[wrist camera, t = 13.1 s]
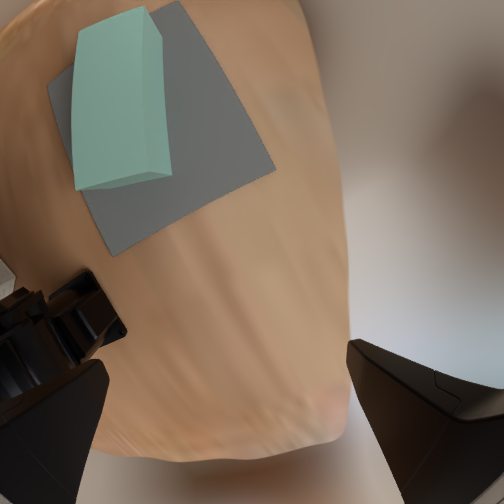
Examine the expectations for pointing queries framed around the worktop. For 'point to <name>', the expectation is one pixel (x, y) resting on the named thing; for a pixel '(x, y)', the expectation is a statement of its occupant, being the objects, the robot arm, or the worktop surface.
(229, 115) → the mat
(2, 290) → the small box
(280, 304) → the worktop surface
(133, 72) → the teal block
